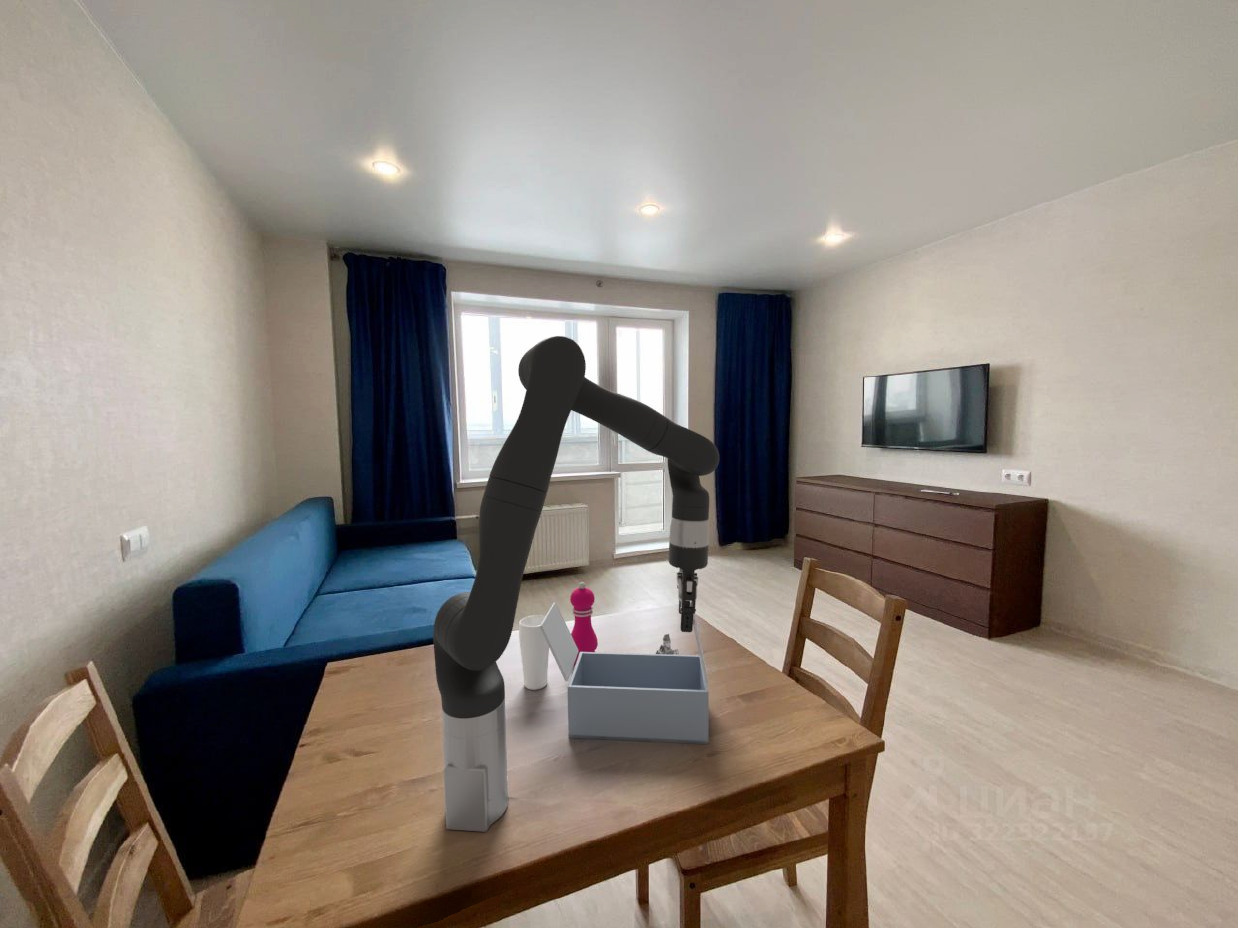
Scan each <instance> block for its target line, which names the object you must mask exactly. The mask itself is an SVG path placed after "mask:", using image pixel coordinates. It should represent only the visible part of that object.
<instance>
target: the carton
mask: <svg viewBox="0 0 1238 928" xmlns="http://www.w3.org/2000/svg"><path fill="white" fill-rule="evenodd" d="M573 667H574V668H573V669H572V672H571V673H572V674H571V675H570V679H569V680H568V681H569V682H568V685H567V719H568V720H567V721H568V725H567V726H568V727H567V728H568V730H567V731H568V739H586V740H587V739H588V740H610V741H611V740H612V741H629V742H630V741H631V742H650V743H653V742H655V743H673V744H674V743H675V744H692V745H693V744H695V745H696V744H697V745H709V721H710V720H709V717H710V716H709V710H710V709H709V708H710V707H709V704H710V703H709V696H710V694H709V693H710V692H709V687H708V685H706V682H705V677H704V673H703V668H702V664H701V659H700V654H699V655H697V654H695V655H694V654H693V655H692V654H679V655H669V654H656V653H632V652H631V653H629V652H627V653H626V652H599V651H598V652H596V651H595V652H580V653H579V656H578V659H577V662H576V665H574V666H573Z"/></svg>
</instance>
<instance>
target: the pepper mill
mask: <svg viewBox="0 0 1238 928" xmlns="http://www.w3.org/2000/svg"><path fill="white" fill-rule="evenodd" d="M594 594H595V593H594V591H592V590H591V589H590V588H588V587H587V584H586V583H585V582H584V581H581V582H579V584H578V588H576V589H573V591H572V592H571V594H570V599H569V601H570V604H571V606H572V609H571V610H572V615H573V616H574V624H573V629H572V631H571V632H570V633H571V636H572V638H573V640H574V642H575V644H576V646H577V648H578V650H579V651H578V654H577V657H576V660H575V662H574V665H573V666H575V665H576V662H577V659H578V656H579V653H580V652H596V650H597V649H598V645H599V643H598V642H599V641H598V638H597V637H598V636H597V634H596V632H595V630H594V628H593V625H592V615H593V612H594V611H593V610H594V609H593V605H594V603H595V595H594Z"/></svg>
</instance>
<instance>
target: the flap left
mask: <svg viewBox="0 0 1238 928" xmlns="http://www.w3.org/2000/svg"><path fill="white" fill-rule="evenodd" d="M544 616H545V618H544V620H543V621H542V623H541V625H540V629H541V631H542V633H543V635H544V637H545V639H546V641H547V643H548V645H549V651H550V652H551V655H552V656H553V657H554V660H555V662H556V665H557V666H558V668H559V671H560V673H561V674H562V678H563V679H564V680H565V682H567V681H569V680H570V679H569V678H570V677H571V673H572V672H573V669H574V668H573V667H574V666H575V665H574V662H575V660H576V657H577V654H578V651H579V650H578V648H577V646H576V644H575V642H574V640H573V638H572V636H571V633H572V632H570V629H569V627H568V625H567V623H566V621H565V619H564V617H563V615H562V613H561V610H560V608H559V606H558V604H557V602H556V601H555V602H553V603H552V605H551V606H550V608H549V609H548V612H547V613H546V615H544Z"/></svg>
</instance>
